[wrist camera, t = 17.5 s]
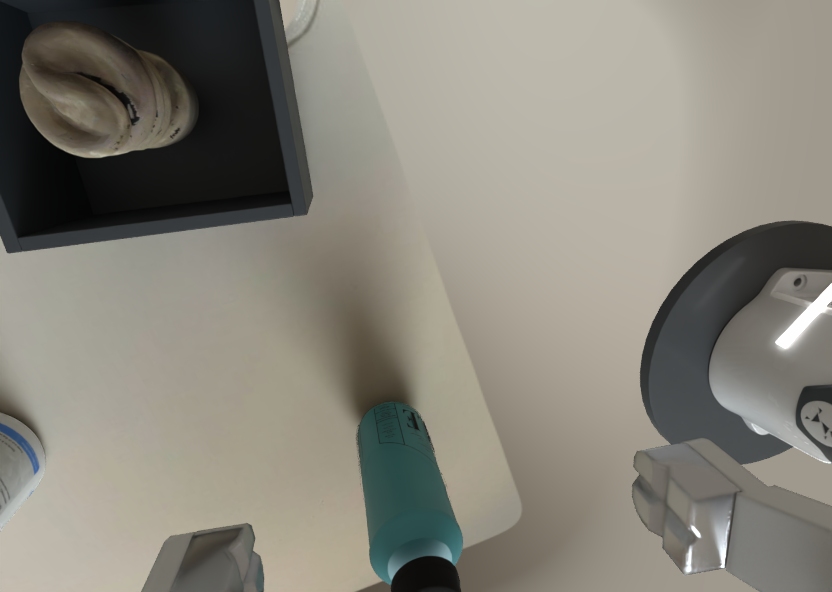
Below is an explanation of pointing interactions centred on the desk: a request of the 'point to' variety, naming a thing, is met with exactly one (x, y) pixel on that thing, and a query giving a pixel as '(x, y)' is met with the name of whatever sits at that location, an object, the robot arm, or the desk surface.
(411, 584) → the beverage bottle
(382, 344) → the desk surface
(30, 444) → the supplement tub
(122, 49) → the light bulb
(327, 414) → the desk surface
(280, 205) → the bin
